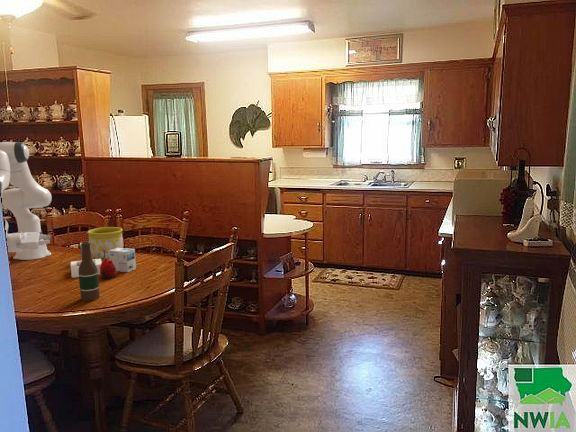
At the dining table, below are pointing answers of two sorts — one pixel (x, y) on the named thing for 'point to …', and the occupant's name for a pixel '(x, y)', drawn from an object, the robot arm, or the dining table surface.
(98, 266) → the socket block
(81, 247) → the plug
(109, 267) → the red clay folk toy
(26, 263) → the dining table surface
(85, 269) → the beer bottle
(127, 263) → the light bulb box
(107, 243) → the flowerpot
